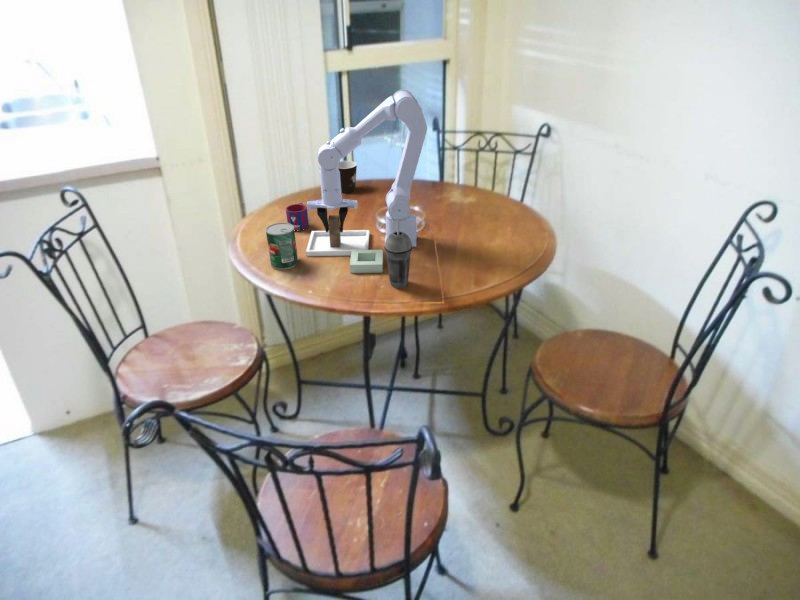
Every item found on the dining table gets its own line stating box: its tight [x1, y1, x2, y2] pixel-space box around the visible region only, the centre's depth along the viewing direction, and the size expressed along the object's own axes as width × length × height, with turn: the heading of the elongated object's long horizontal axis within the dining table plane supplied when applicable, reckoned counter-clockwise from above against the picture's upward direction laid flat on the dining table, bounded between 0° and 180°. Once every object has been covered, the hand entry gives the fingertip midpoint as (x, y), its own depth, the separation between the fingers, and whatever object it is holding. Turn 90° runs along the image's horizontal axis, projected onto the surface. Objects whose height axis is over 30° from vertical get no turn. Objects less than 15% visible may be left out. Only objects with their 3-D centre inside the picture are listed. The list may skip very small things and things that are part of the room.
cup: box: [285, 202, 310, 232], centre depth 184 cm, size 7×10×7 cm
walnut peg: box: [327, 214, 341, 247], centre depth 170 cm, size 3×3×9 cm
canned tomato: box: [265, 222, 299, 270], centre depth 161 cm, size 8×8×11 cm
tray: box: [305, 229, 370, 257], centre depth 172 cm, size 18×14×2 cm
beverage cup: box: [384, 218, 413, 289], centre depth 147 cm, size 7×7×20 cm
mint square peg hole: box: [349, 249, 384, 274], centre depth 161 cm, size 9×9×3 cm
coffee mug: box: [338, 160, 358, 195], centre depth 208 cm, size 12×9×10 cm
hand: (334, 230), depth 170 cm, fingers open, 4 cm apart
